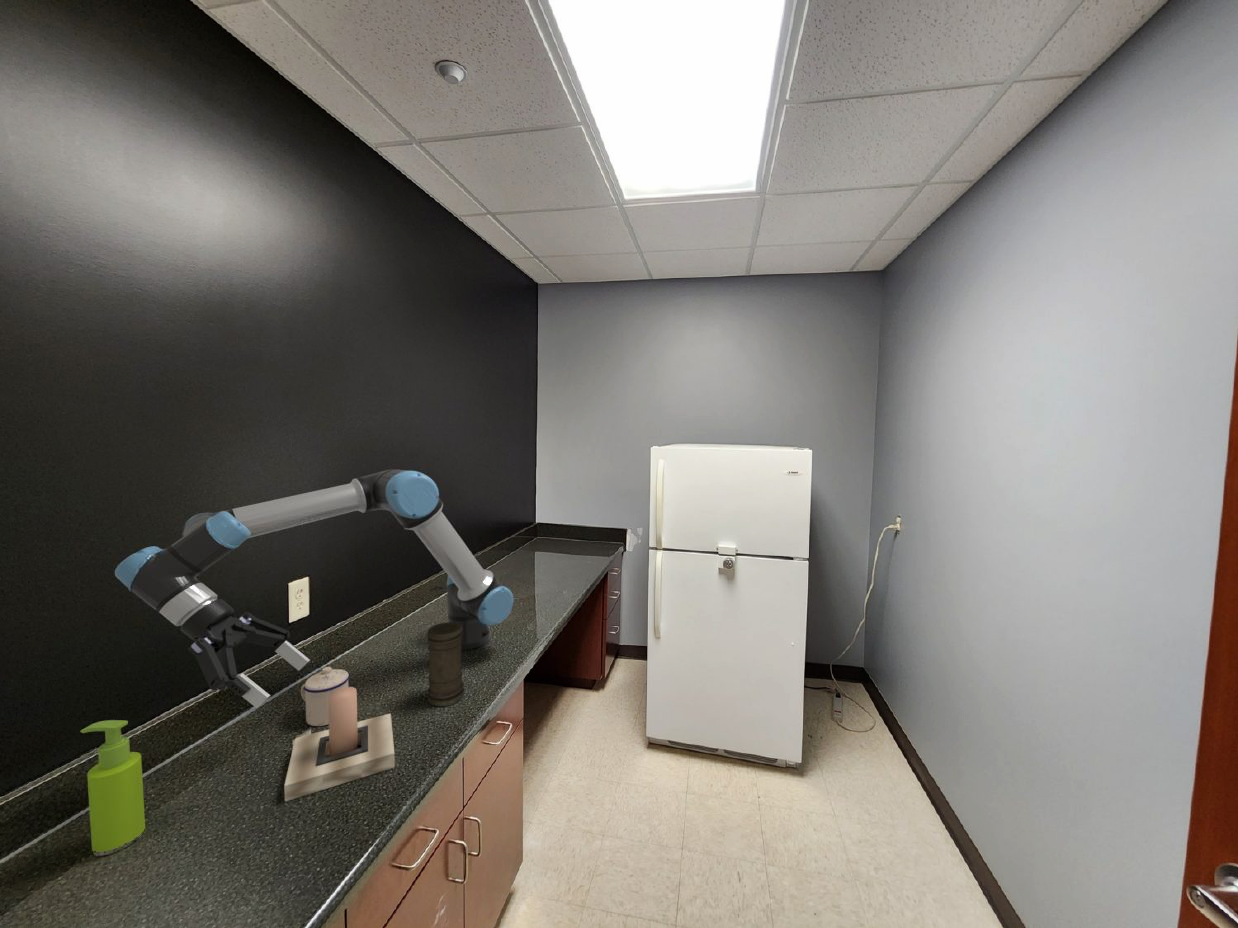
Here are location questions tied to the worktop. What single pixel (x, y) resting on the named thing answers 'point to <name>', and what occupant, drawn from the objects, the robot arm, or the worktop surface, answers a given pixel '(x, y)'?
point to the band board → (339, 758)
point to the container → (445, 664)
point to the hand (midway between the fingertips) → (285, 682)
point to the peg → (342, 720)
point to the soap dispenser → (115, 790)
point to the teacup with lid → (322, 693)
